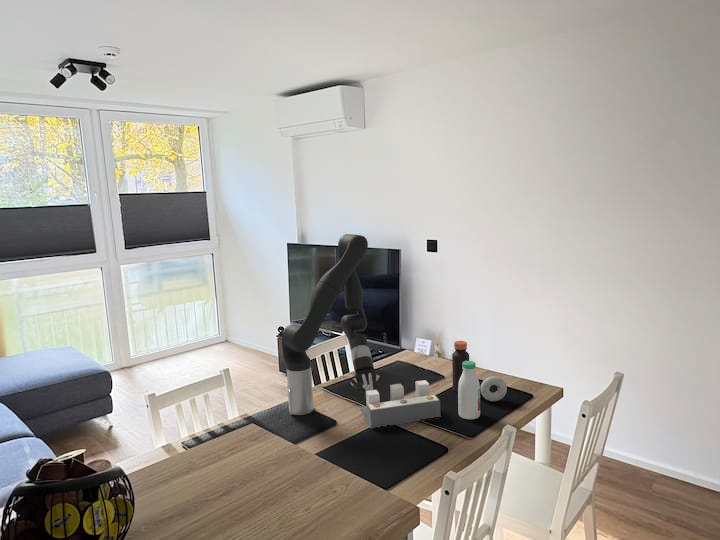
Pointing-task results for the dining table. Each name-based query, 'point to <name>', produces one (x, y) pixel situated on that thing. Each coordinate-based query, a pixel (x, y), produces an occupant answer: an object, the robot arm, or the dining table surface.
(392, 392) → the key middle
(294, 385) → the robot arm
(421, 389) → the key right
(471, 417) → the milk bottle
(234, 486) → the dining table surface
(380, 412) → the block
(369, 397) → the key left
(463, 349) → the vinegar
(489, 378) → the donut
